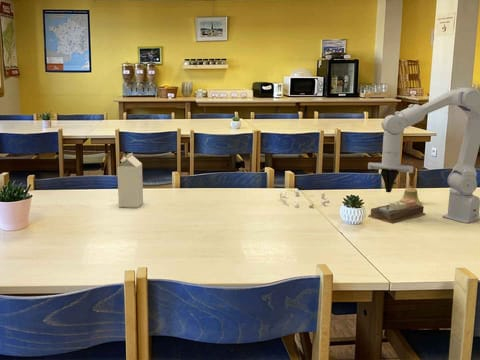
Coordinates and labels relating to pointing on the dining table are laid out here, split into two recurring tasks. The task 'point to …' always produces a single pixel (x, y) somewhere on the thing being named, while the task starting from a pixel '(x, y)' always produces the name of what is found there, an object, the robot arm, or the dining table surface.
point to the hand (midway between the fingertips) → (388, 191)
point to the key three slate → (387, 209)
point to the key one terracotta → (409, 203)
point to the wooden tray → (397, 214)
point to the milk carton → (130, 182)
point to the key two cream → (397, 205)
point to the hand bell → (411, 187)
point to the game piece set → (309, 196)
